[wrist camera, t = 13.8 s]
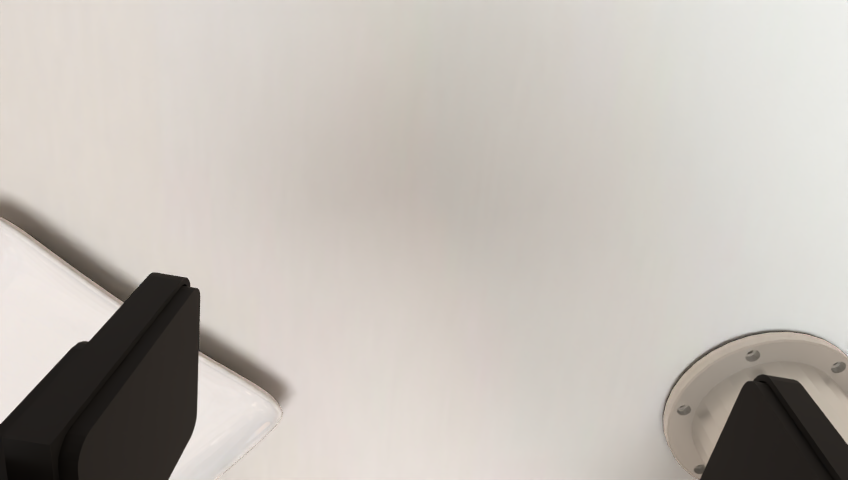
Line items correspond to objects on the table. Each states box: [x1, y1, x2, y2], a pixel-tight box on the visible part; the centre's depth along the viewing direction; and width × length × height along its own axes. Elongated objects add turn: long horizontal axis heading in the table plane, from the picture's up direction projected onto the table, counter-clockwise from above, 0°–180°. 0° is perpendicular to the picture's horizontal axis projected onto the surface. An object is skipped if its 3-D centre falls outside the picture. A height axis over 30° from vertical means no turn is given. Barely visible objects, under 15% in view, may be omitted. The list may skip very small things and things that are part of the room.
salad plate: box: [0, 217, 283, 480], centre depth 43 cm, size 21×21×3 cm
